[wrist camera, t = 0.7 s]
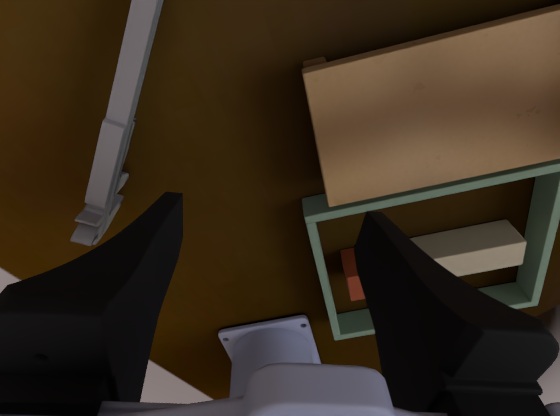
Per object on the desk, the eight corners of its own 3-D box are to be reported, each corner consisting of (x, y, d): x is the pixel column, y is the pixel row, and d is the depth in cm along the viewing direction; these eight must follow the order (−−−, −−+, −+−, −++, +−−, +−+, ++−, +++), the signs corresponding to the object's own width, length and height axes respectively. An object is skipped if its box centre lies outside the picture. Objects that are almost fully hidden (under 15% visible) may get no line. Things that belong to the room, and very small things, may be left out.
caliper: (124, 199, 25) (88, 265, 20) (108, 194, 25) (67, 260, 19) (215, -212, 14) (189, -301, 9) (188, -229, 14) (144, -331, 9)
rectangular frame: (522, 284, 31) (537, 305, 29) (330, 319, 33) (334, 340, 31) (550, 144, 24) (574, 160, 22) (301, 197, 25) (304, 217, 23)
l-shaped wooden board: (573, 127, 23) (667, 180, 18) (322, 181, 25) (338, 246, 19) (609, -21, 18) (748, -8, 13) (297, 58, 20) (310, 98, 15)
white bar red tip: (503, 242, 28) (525, 269, 26) (344, 272, 30) (351, 301, 27) (506, 216, 27) (530, 242, 24) (339, 250, 28) (346, 277, 26)
